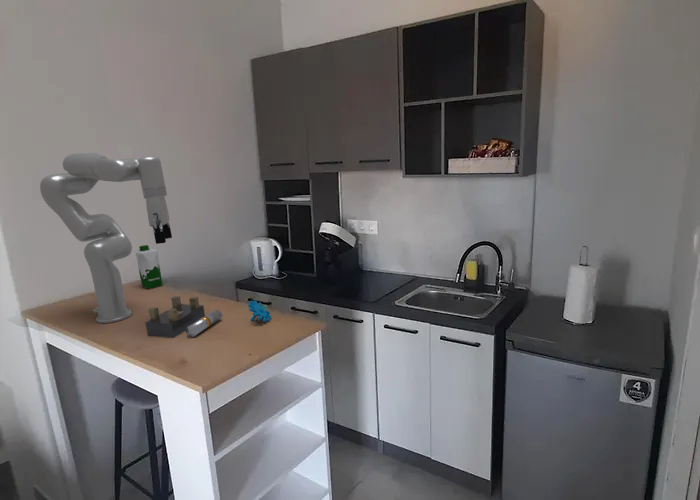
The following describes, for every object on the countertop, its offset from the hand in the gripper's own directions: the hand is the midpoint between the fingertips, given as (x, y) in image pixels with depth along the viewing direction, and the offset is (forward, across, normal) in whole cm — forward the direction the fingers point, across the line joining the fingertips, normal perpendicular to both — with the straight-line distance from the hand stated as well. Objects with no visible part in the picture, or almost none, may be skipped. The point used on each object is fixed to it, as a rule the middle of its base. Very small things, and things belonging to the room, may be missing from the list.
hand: (164, 240), depth 156 cm
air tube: (+30, +8, +10) cm, 33 cm away
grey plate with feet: (+32, +3, 0) cm, 32 cm away
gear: (+33, +7, +30) cm, 45 cm away
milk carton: (+30, -56, -24) cm, 68 cm away
